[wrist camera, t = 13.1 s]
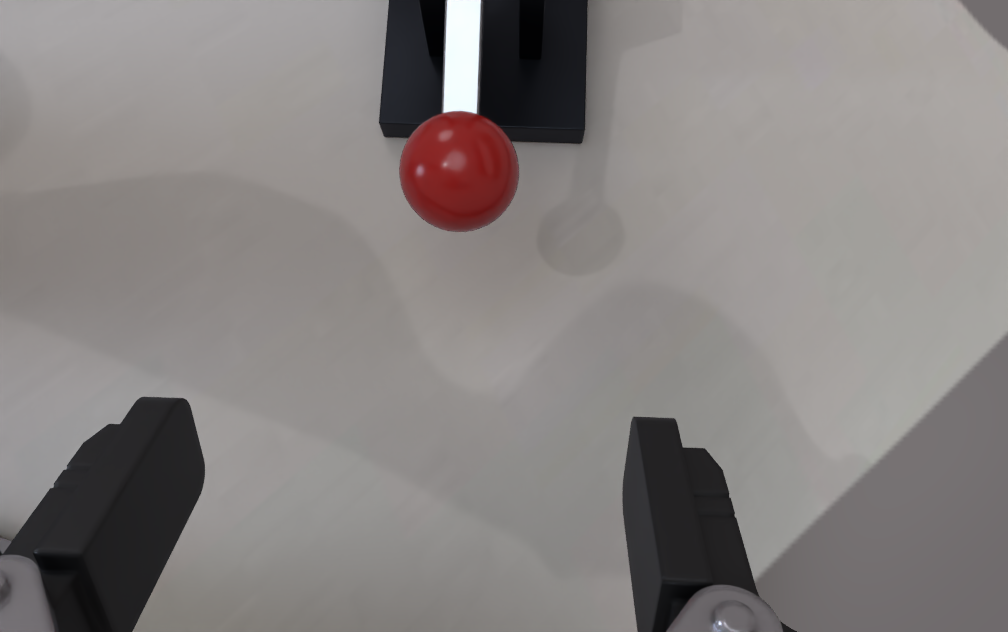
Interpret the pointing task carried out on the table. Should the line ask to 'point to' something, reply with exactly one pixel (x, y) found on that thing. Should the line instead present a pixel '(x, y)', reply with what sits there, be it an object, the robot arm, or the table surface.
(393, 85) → the switch bracket
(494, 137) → the lever
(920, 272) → the table surface
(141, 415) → the robot arm
